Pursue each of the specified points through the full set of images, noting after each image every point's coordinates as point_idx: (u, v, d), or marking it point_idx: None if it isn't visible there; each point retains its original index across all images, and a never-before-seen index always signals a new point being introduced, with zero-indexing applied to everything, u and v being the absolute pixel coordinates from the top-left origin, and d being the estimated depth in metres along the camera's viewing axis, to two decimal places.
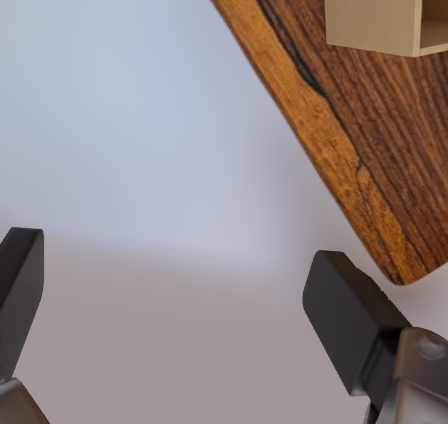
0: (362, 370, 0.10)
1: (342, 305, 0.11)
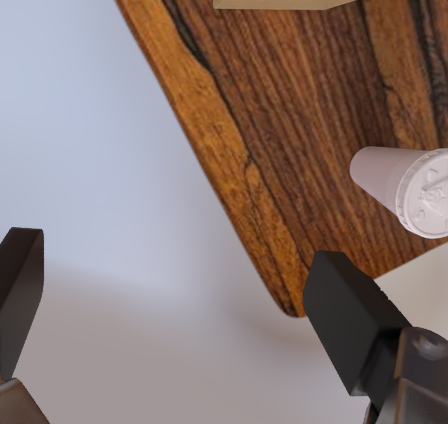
0: (363, 370, 0.10)
1: (342, 305, 0.11)
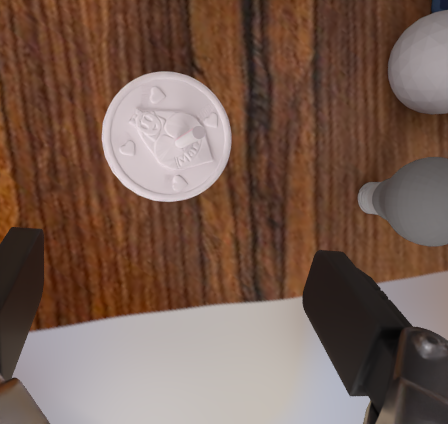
0: (362, 370, 0.10)
1: (342, 305, 0.11)
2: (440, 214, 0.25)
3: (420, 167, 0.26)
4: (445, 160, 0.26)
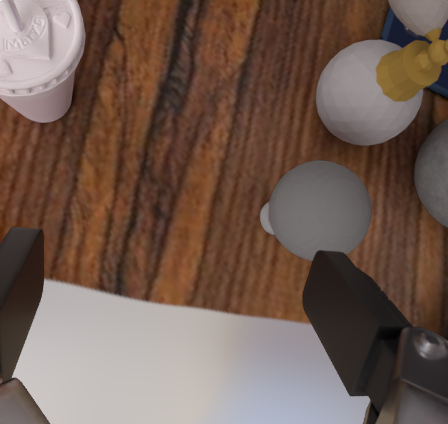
0: (362, 371, 0.10)
1: (342, 305, 0.11)
2: (314, 211, 0.21)
3: (308, 164, 0.23)
4: (337, 164, 0.23)
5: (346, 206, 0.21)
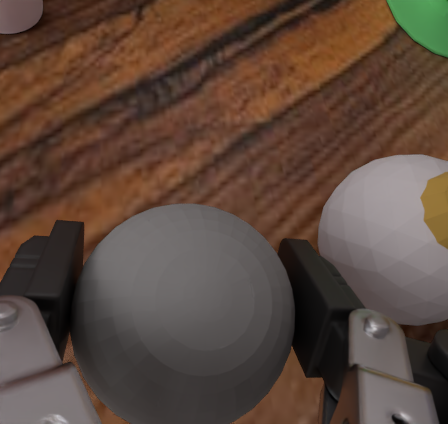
0: (317, 352, 0.10)
1: (301, 290, 0.11)
2: (138, 261, 0.09)
3: (215, 208, 0.11)
4: None
5: (207, 294, 0.08)
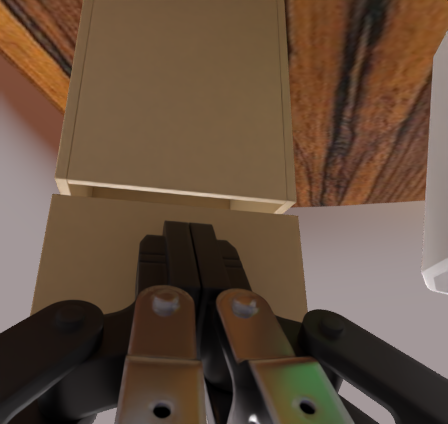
0: (197, 334, 0.10)
1: None
2: None
3: None
4: None
5: None
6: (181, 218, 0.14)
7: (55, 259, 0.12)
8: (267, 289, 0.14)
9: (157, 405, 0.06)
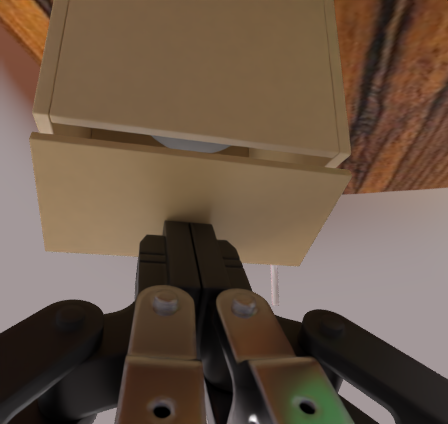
0: (197, 334, 0.10)
1: None
2: (161, 143, 0.16)
3: None
4: None
5: (194, 145, 0.16)
6: (199, 173, 0.11)
7: (55, 204, 0.11)
8: (276, 236, 0.13)
9: (157, 405, 0.06)
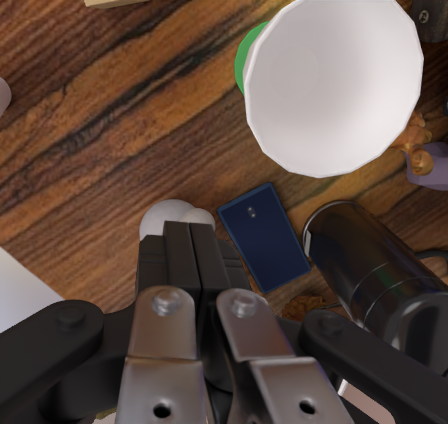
0: (197, 334, 0.10)
1: None
2: None
3: None
4: None
5: None
6: None
7: None
8: None
9: (157, 405, 0.06)
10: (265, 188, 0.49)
